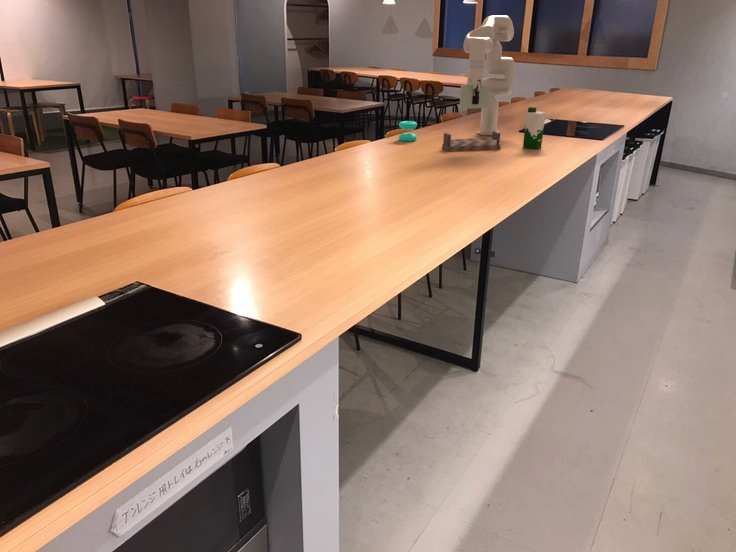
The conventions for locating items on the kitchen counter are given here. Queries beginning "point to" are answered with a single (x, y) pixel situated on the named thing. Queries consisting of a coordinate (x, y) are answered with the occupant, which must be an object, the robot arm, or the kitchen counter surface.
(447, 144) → the track base
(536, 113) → the milk carton
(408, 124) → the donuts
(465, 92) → the door panel
